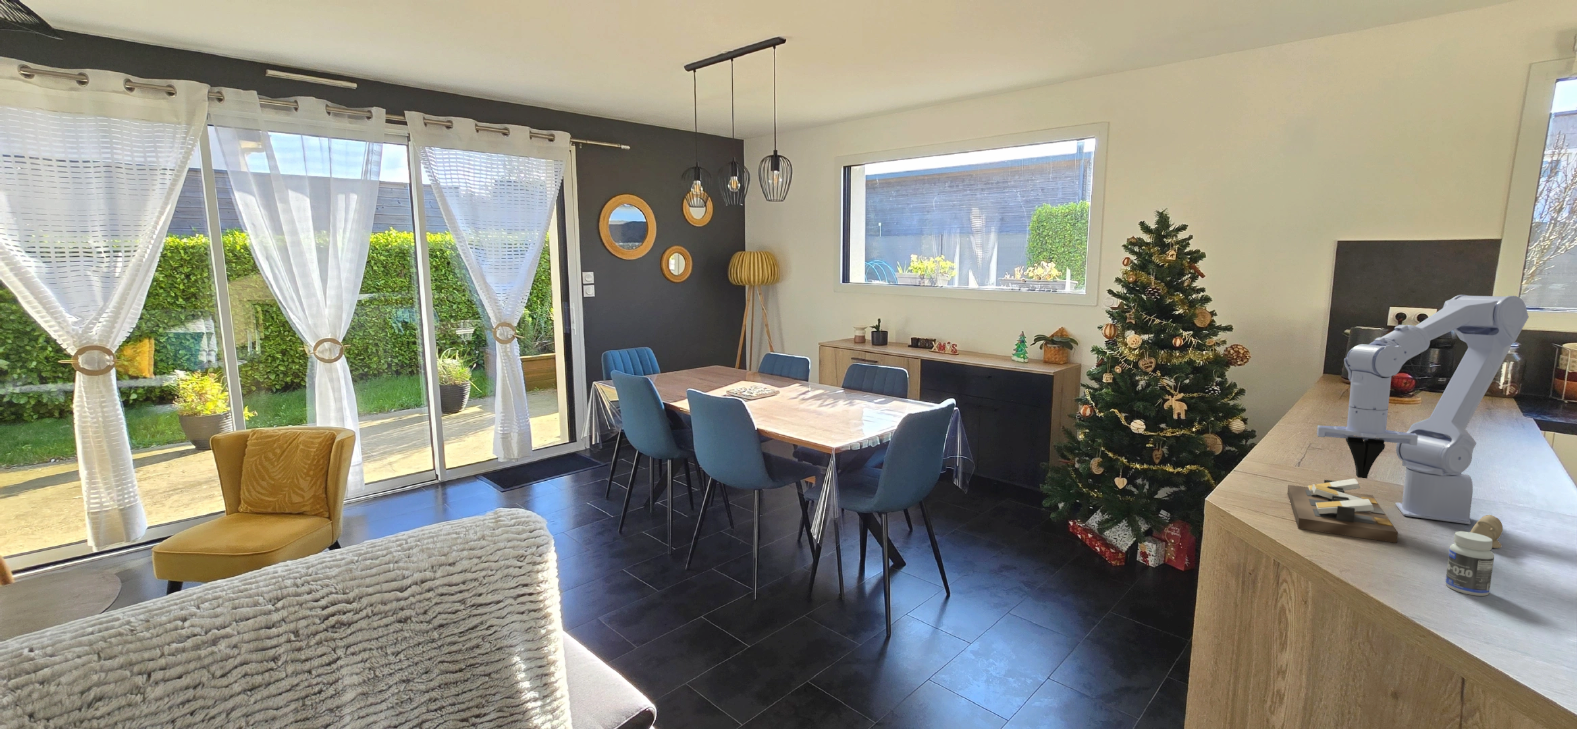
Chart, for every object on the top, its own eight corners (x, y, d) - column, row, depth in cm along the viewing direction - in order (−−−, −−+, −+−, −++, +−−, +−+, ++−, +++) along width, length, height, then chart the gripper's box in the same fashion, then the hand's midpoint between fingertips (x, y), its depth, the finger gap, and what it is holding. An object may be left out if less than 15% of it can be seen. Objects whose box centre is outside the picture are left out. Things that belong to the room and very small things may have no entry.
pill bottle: (1436, 583, 104) (1442, 530, 103) (1464, 581, 104) (1470, 529, 103) (1469, 597, 99) (1476, 542, 98) (1499, 596, 99) (1505, 541, 98)
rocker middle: (1360, 503, 132) (1362, 498, 132) (1364, 509, 129) (1366, 504, 129) (1311, 488, 136) (1313, 483, 136) (1313, 493, 133) (1316, 488, 133)
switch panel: (1371, 504, 139) (1373, 482, 139) (1396, 542, 119) (1399, 517, 119) (1287, 493, 147) (1289, 473, 146) (1298, 528, 127) (1300, 504, 126)
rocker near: (1369, 504, 126) (1368, 498, 126) (1373, 510, 123) (1372, 504, 123) (1316, 507, 130) (1315, 502, 130) (1319, 513, 127) (1317, 508, 127)
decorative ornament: (1504, 542, 119) (1508, 513, 118) (1494, 554, 114) (1498, 524, 113) (1472, 536, 122) (1475, 507, 122) (1461, 546, 117) (1464, 517, 117)
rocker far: (1356, 483, 138) (1354, 477, 138) (1360, 488, 134) (1358, 482, 135) (1309, 490, 142) (1307, 485, 142) (1311, 495, 139) (1309, 490, 139)
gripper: (1322, 407, 129) (1316, 476, 131) (1424, 414, 121) (1416, 488, 123) (1318, 401, 135) (1312, 467, 137) (1415, 408, 127) (1407, 478, 129)
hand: (1361, 476), depth 130 cm, fingers closed
